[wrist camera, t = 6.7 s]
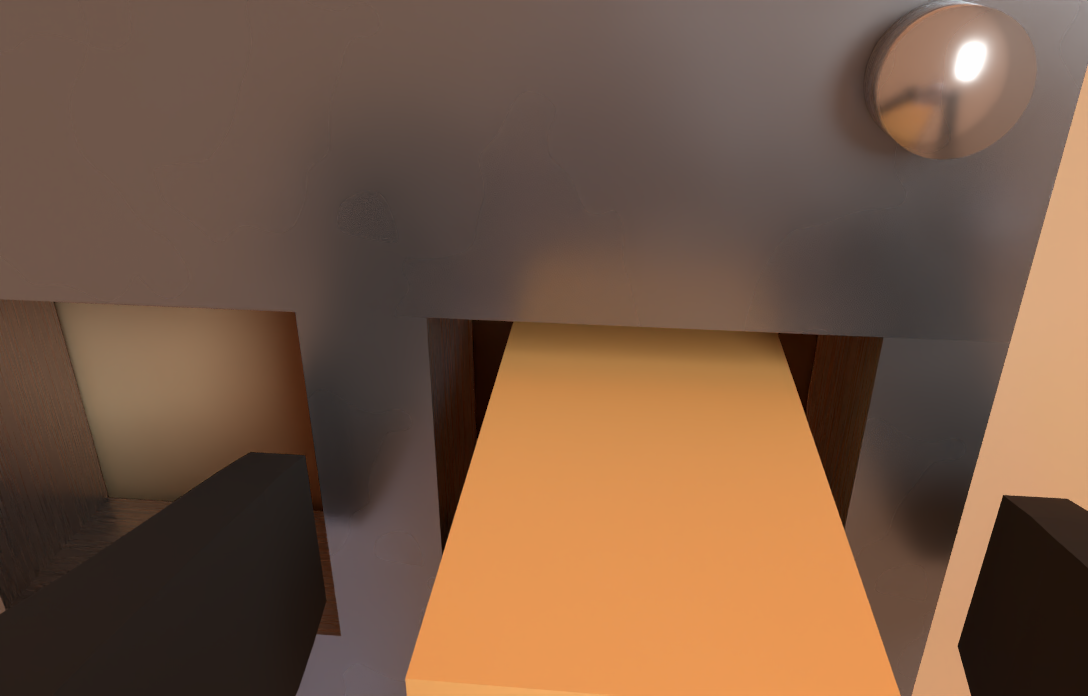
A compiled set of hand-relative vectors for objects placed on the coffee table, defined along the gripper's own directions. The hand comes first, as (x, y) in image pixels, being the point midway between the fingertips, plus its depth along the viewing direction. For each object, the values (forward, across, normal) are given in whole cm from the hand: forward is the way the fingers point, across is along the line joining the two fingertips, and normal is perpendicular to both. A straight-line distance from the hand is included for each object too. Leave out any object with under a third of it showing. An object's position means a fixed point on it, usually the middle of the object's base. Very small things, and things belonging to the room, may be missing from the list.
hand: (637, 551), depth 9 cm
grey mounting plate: (+3, +3, 0) cm, 4 cm away
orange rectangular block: (+3, 0, 0) cm, 3 cm away
